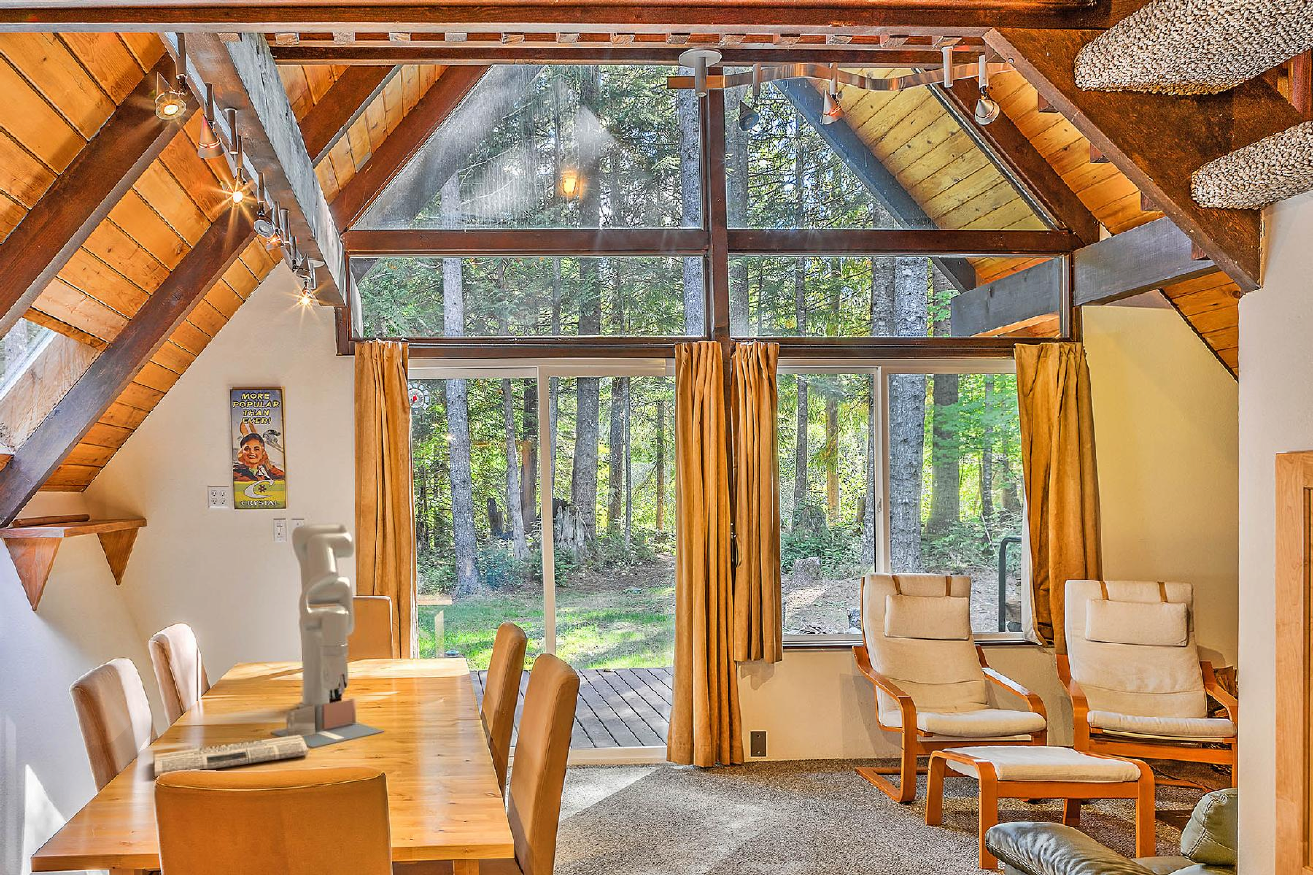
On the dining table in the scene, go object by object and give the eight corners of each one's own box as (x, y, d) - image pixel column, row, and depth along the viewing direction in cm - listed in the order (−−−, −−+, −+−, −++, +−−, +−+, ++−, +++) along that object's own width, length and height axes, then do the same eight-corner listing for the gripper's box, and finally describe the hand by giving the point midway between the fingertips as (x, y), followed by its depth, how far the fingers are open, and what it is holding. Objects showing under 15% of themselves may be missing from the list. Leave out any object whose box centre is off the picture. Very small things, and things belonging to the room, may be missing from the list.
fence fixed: (286, 737, 290) (285, 711, 290) (312, 732, 296) (311, 706, 296) (289, 738, 289) (289, 712, 289) (315, 733, 294) (315, 707, 295)
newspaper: (154, 779, 253) (154, 768, 253) (154, 760, 270) (154, 750, 270) (307, 757, 269) (307, 746, 269) (298, 740, 286) (298, 730, 287)
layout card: (267, 733, 296) (267, 732, 296) (340, 718, 313) (340, 717, 313) (309, 749, 278) (309, 747, 278) (384, 732, 295) (384, 730, 295)
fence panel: (317, 731, 295) (316, 707, 295) (313, 730, 296) (313, 706, 296) (357, 722, 304) (356, 699, 304) (353, 721, 306) (353, 698, 306)
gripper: (313, 649, 309) (313, 709, 308) (333, 655, 298) (334, 717, 297) (336, 646, 314) (336, 705, 313) (357, 651, 303) (358, 712, 302)
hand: (335, 710), depth 305 cm, fingers closed
